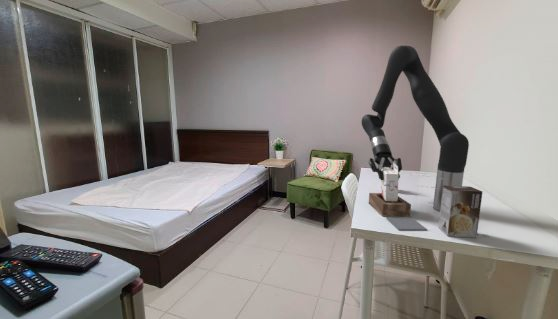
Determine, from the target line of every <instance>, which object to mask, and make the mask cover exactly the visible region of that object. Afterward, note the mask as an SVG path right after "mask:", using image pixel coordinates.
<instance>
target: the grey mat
mask: <svg viewBox="0 0 558 319" xmlns="http://www.w3.org/2000/svg"><path fill="white" fill-rule="evenodd" d="M385 218H386V220H387V221H388V222H389V223H390V224H391V225H392V226H394V228H395V229H396V230H398V231H428V228H426V226H424V225H422V224H421V223H420V222H419V221H417V220H416V219H414V218H413V217H385Z"/></svg>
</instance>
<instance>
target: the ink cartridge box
mask: <svg viewBox="0 0 558 319" xmlns="http://www.w3.org/2000/svg"><path fill="white" fill-rule="evenodd" d="M394 163H395V162H394ZM394 163H393V167H394V170H383V169H382V170H381V171H382V172H383V175H384V180H381V186H382V189H381V193H382V196H383V198H384V199H385V201H398V196H399V180H398V177H399V175H400V173H399V174H398V166H397V165H396V164H394ZM395 167H396V169H395Z"/></svg>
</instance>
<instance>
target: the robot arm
mask: <svg viewBox="0 0 558 319" xmlns="http://www.w3.org/2000/svg"><path fill="white" fill-rule="evenodd" d="M402 73H403V74H404V75H405V77H406V78H407V80H408V82H409V87H410V92H411V95H412V99H413V100H414V103H415V104H416V107H418V109H419V111H420V113H421V114H422V115H423V117H424V118H425V119H426V121H427V122H428V124H430V126H431V128H432V129H433V131H434V133H435V136H436V137H437V141H438V143H439V147H440V148H439V157H438V163H437V170H436V178H435V188H434V196H433V203H432V204H433V206H432V208H433V209H434V210H436V211H439V212H440V210H441V201H442V192H443V186H463V182H464V175H465V168H466V165H467V160H468V153H469V149H470V148H469V147H470V144H469V138H468V137H467V136H466V135H464V134H463V133H461V132H460V130H459V129H458V127H457V126H456V125H455V123H454V122H453V121H452V118H451V116H450V114H449V110H448V107H447V105H446V103H445V100H444V99H443V97H442V95H441V93H440V92H439V90H438V88H437V87H436V85H435V83H434V82H433V80H432V78H431V77H430V76H429V74H428V73H427V72H426V70H425V67H424V65H423V63H422V61H421V58H420V55H419V53H418V51H417V50H416V49H415V47H413V46H411V45H398V46H396V47H395V48H394V49H393V50H392V51H391V52H390V54H389V57H388V60H387V65H386V68H385V72H384V76H383V78H382V81H381V84H380V87H379V89H378V92H377V93H376V95H375V98H374V100H373V103H372V104H371V109H372V111H373V112H375V113H377V115H375V114H370V113H369V114H365V115H363V116H362V118H361V126H362V128H363V130H364V132H365V133H366V135H367V136H368V138H369V142H370V147H371V151H372V155H373V158H372V157H370V158H369V160H368V165H369V166H370V169H371V171H372V172H373V173H377V174H378V179H379V180H380V181H382V180H384V175H383V172H382V170H383V168H384V167H388V168H389V169H390V170H394V167H393V163H394V164H396V165H397V166H398V174H399V177H398V181H399V180H400V178H401V175H400V172H401V171H402V170H403V165H402V159H401V158H400V157H397V158H395V157H393V153H392V150H391V147H390V144H389V141H388V140H387V137H386V135H385V132H384V129H382V128H383V127H384V125H385V120H386V115H387V111H388V108H389V106H390V104H391V102H392V100H393V97H394V93H395V89H396V85H397V83H398V80H399V77H400V76H401V74H402ZM376 164H377V165H378V166H377V165H376ZM395 169H396V167H395Z"/></svg>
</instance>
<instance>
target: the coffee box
mask: <svg viewBox="0 0 558 319" xmlns="http://www.w3.org/2000/svg"><path fill="white" fill-rule="evenodd" d="M482 199H483V191H481V190H480V189H477V188H475V187H473V186H465V185H464V186H463V185H462V186H443V192H442V201H441V210H440V211H439V213H440V214H439V221H438V229H439V230H440V231H441V232H442V233H443V234H444V235H445V236H447V237H452V238H453V237H455V238H457V237H458V238H471V239H472V238H474V239H476V238H477V236H478V229H479V223H480V214H481V206H482Z"/></svg>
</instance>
